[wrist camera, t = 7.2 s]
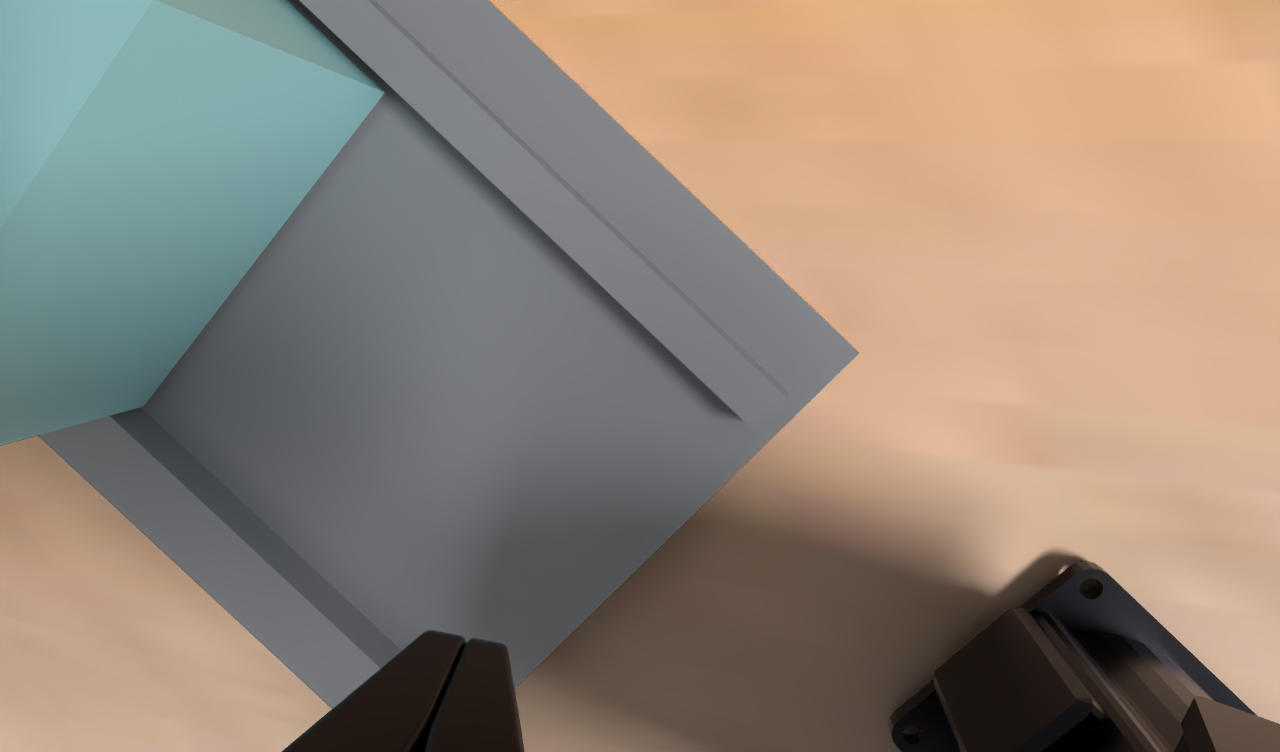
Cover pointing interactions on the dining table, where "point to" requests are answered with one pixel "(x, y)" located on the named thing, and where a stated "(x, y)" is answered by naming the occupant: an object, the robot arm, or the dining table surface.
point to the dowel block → (146, 183)
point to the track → (459, 368)
